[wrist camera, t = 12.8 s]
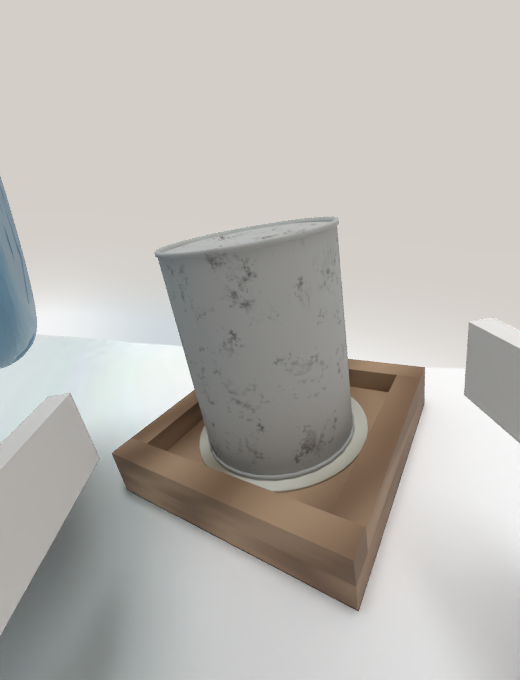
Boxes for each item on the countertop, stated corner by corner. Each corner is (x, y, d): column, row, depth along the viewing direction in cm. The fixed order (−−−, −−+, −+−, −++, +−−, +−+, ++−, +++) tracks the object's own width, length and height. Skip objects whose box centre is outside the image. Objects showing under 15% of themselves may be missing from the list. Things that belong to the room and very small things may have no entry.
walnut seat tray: (127, 489, 22) (111, 453, 21) (254, 375, 33) (248, 348, 32) (358, 610, 13) (353, 560, 12) (424, 403, 25) (424, 367, 23)
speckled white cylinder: (191, 485, 19) (119, 264, 14) (224, 392, 28) (186, 237, 23) (368, 475, 17) (352, 225, 13) (344, 381, 26) (329, 212, 21)
